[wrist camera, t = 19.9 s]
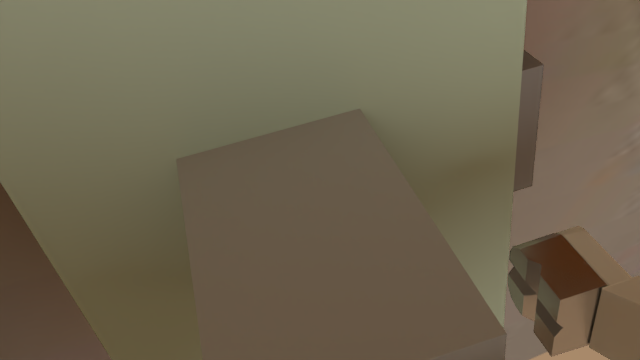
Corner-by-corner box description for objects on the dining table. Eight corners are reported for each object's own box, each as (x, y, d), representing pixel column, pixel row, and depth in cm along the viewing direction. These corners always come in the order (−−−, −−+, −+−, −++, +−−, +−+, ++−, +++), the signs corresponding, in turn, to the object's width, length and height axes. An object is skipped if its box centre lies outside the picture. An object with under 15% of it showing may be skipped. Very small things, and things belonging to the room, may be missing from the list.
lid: (162, 403, 21) (164, 444, 20) (-144, -123, 11) (-180, -104, 9) (496, 294, 23) (518, 326, 22) (528, -262, 12) (575, -263, 11)
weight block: (224, 286, 17) (274, 553, 11) (176, 158, 14) (212, 431, 8) (376, 240, 17) (495, 473, 12) (359, 108, 14) (506, 333, 9)
